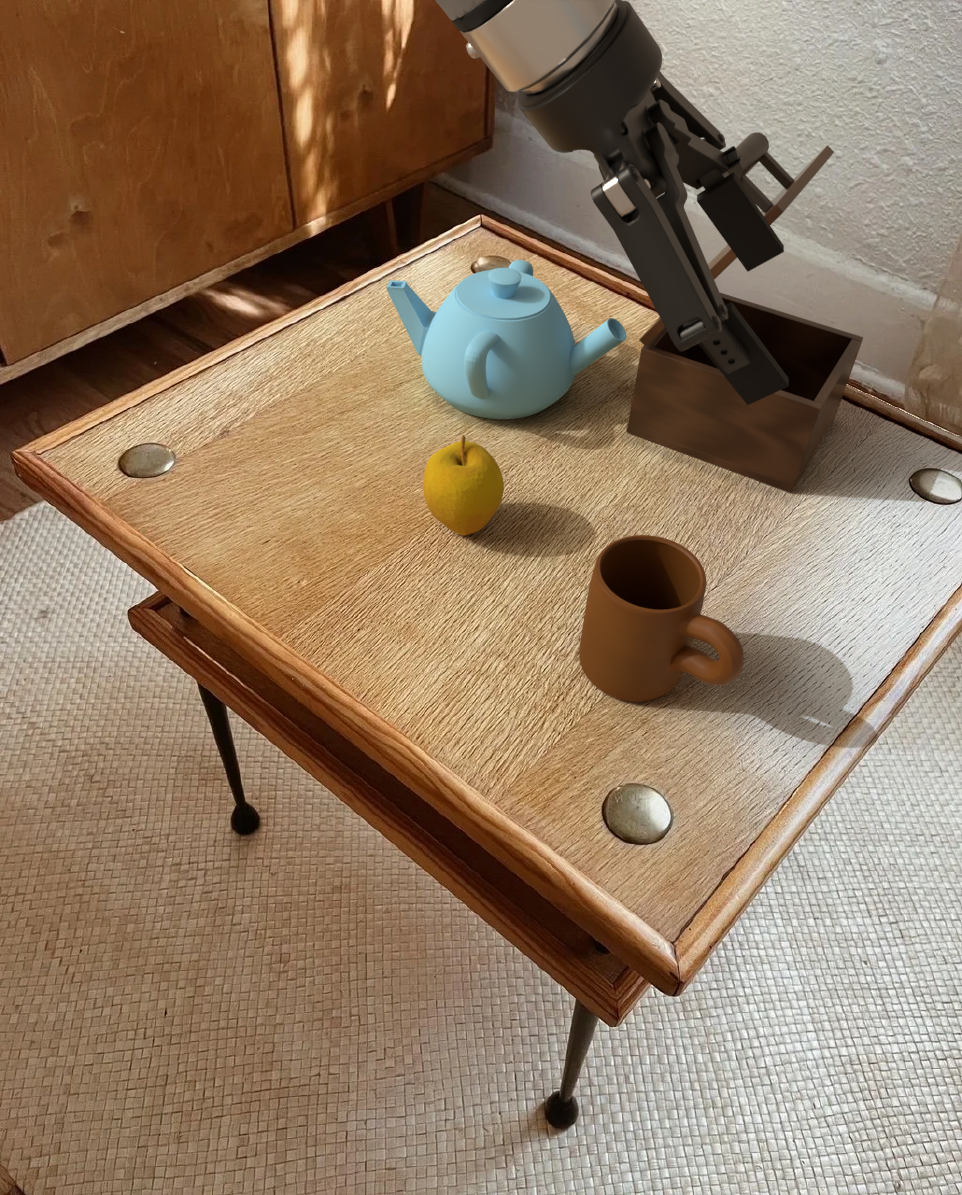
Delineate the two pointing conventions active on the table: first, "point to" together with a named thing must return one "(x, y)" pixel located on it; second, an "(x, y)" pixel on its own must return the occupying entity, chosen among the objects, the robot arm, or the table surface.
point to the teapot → (499, 342)
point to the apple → (463, 486)
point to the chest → (721, 417)
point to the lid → (758, 197)
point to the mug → (651, 622)
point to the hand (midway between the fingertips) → (767, 321)
